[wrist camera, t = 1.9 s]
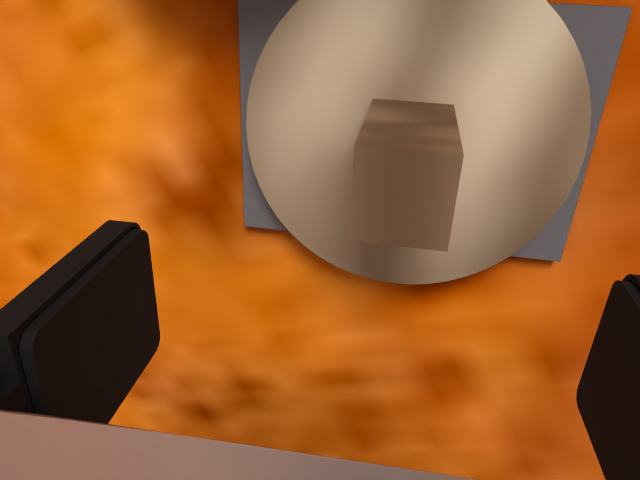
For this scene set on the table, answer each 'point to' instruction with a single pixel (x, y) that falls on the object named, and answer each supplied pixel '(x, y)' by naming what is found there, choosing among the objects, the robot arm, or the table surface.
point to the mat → (582, 22)
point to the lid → (418, 131)
